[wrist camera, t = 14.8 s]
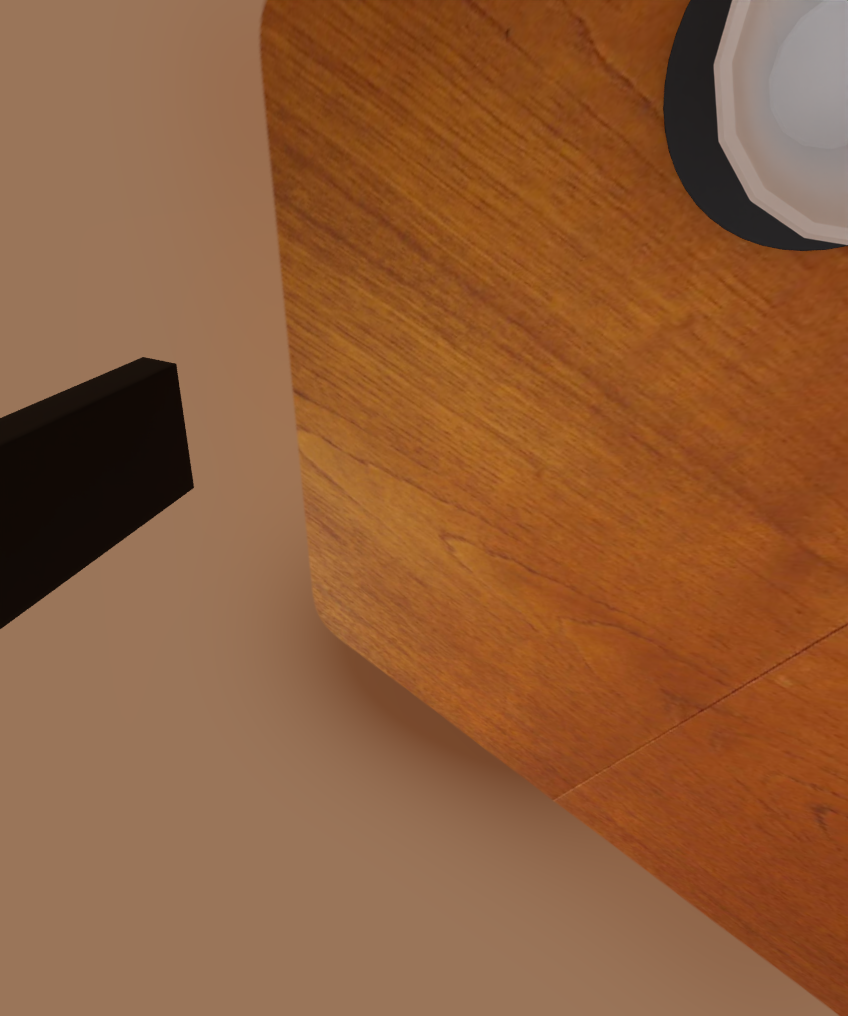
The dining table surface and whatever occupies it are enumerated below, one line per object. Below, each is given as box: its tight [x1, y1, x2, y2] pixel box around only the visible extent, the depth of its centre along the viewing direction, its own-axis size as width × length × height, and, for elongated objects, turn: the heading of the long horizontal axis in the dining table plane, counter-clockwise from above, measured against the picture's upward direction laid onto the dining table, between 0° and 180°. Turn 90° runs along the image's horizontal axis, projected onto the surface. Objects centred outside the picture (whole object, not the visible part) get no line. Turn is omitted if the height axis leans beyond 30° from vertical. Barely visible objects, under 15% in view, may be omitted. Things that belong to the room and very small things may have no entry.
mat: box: [663, 0, 848, 251], centre depth 27 cm, size 14×14×1 cm
